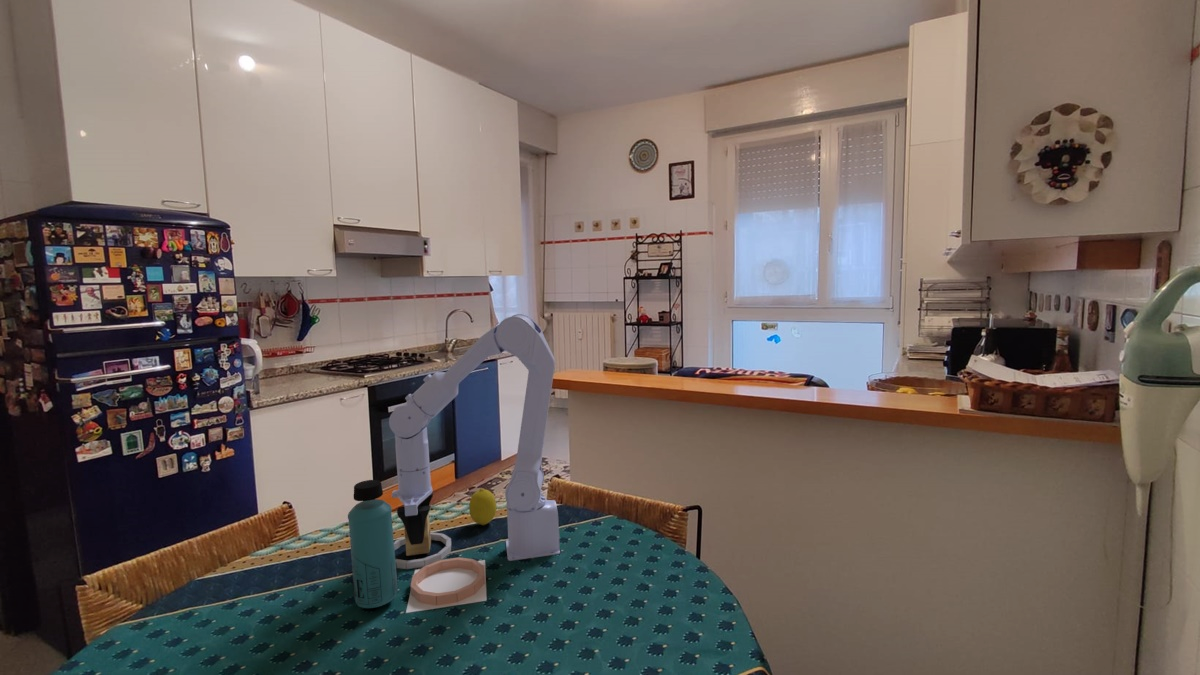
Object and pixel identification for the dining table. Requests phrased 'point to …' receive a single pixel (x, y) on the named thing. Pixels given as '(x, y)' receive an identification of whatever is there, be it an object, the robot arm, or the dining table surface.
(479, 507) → the lemon
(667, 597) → the dining table surface
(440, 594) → the ring
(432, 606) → the card
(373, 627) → the dining table surface
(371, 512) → the beverage bottle
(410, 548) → the ochre block
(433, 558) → the ring
